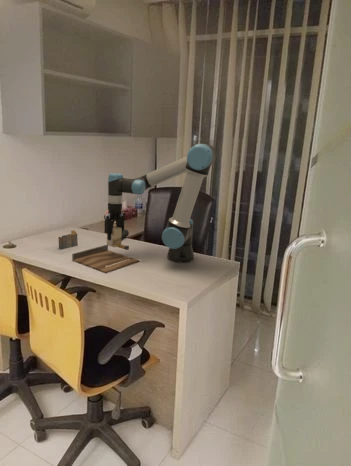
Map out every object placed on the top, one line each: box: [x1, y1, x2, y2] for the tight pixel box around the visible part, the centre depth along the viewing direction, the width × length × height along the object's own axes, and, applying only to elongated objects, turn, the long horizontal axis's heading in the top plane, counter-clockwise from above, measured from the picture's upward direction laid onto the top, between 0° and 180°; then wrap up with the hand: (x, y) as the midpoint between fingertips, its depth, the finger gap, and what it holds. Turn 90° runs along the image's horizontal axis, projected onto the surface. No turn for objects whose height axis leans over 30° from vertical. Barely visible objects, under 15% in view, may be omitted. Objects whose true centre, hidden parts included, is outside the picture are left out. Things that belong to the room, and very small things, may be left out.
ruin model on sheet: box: [58, 230, 79, 250], centre depth 214 cm, size 11×3×10 cm, turn 143°
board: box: [71, 244, 141, 274], centre depth 194 cm, size 26×24×4 cm
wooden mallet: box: [106, 225, 130, 251], centre depth 197 cm, size 13×5×10 cm, turn 53°
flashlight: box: [121, 228, 130, 240], centre depth 236 cm, size 15×5×5 cm, turn 162°
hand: (114, 244), depth 200 cm, fingers closed on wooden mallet, 5 cm apart
